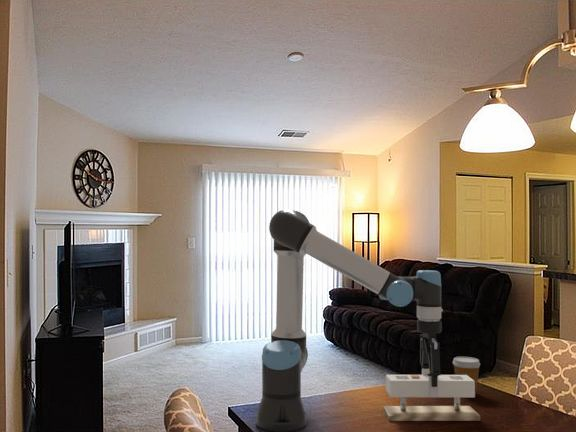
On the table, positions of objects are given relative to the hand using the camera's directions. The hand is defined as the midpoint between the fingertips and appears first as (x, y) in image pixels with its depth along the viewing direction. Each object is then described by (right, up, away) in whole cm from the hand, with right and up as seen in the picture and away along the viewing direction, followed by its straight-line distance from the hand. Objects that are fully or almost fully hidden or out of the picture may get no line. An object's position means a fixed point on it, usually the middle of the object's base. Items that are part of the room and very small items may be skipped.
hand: (429, 392), depth 160 cm
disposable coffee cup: (+20, -8, +23) cm, 31 cm away
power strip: (0, 0, 0) cm, 0 cm away
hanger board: (0, -7, 0) cm, 7 cm away
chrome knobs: (0, -7, 0) cm, 7 cm away
